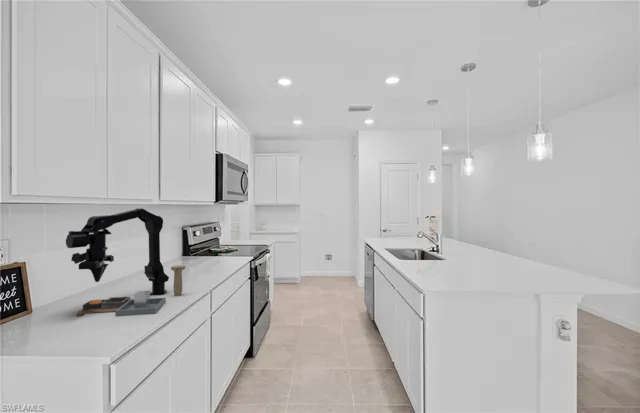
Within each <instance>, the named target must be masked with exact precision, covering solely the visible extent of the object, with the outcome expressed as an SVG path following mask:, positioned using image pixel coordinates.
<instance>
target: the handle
mask: <svg viewBox="0 0 640 413" xmlns="http://www.w3.org/2000/svg"><path fill="white" fill-rule="evenodd" d="M185 269H186V265H184V264H180V265H179V264H178V265H172V266H170V270H171V271H173V272H174V274H173V276H174V277H173V296H174V297H181V296H182V293H183V271H184V270H185Z"/></svg>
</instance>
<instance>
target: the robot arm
mask: <svg viewBox="0 0 640 413" xmlns="http://www.w3.org/2000/svg"><path fill="white" fill-rule="evenodd" d="M134 219H138V220H140V221H141V222H143V223H144V227H145V230H146V232H147V234H148V264H147V265H144V267H143V268H144V273H143V274H144V275H145V277H146V278H147V279H148V281H149V282H152V284H151V287H152V288H151V292H150V296H157V295H158V296H159V295H165V294H166V293H167V291H168V290H167V289H165V288H166V286H165V285H166V282H168V281H169V279H170V276H168V274H166V273H165V270H164V266H163V264H162V262H161V248H160V247H161V246H160V244H161V242H160V241H161V238H160V235H161V234H160V233H161V231H162V229H163V226H164V225H163V224H164V219H163V218H162V217H161V216H160V215H156V214H154V213H152V212H150V211H147V210H146V209H144V208H141V207H140V208H138V207H137V208H135V209H131V210H127V211H123V212H119V213H115V214H110V215H109V214H108V215H107V214H105V215H93V216H90V217H88V219H87V221H86V223H85V225H84V226H83V227H82V228H81V230H78V231H76V230H75V231H74V230H70V231H68V234H67V236H66V238H65V244H66V248H68V249H75V248H76V249H77V248H85V247H88V248H86V251H85V252H83V253H79V252H75V253H73V254H72V255H71V262H74V265H76V264H78V270H89V271H90V272H91V274H92V277H93V279H94V282H95V283H98V282H100V281H101V279H102V277H103V275H104V273H105V271H106V269H107V267H108V266H109V263H105V262H110V263H111V262H114V261H115V259H114V258H115V257H114V255H112V254H106V253H107V252H106V251H107V250H108V246H107V245H106V242H107V238H106V237H107V236H106V235H112V232H111V231H110V230H109V229H108V228H110V227H112V226H113V225H115V224H118V223H122V222H126V221H130V220H134Z"/></svg>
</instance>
